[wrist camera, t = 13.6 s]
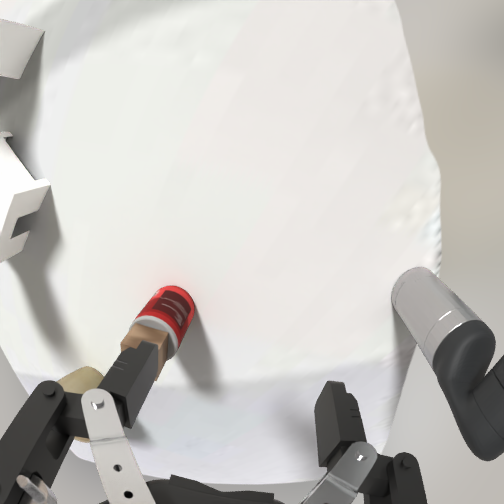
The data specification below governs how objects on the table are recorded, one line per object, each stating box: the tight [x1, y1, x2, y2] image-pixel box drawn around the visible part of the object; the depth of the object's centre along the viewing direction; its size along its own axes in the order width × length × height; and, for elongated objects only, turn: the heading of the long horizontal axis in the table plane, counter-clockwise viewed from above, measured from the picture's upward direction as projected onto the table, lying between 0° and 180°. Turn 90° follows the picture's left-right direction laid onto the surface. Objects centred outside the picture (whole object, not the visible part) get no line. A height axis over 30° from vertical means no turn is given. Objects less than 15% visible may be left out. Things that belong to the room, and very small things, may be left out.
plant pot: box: [57, 366, 104, 443], centre depth 51 cm, size 15×15×16 cm
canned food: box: [129, 286, 194, 361], centre depth 44 cm, size 8×8×11 cm
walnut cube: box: [121, 323, 168, 381], centre depth 36 cm, size 5×5×5 cm
